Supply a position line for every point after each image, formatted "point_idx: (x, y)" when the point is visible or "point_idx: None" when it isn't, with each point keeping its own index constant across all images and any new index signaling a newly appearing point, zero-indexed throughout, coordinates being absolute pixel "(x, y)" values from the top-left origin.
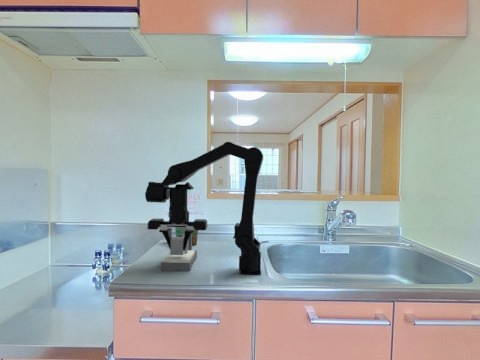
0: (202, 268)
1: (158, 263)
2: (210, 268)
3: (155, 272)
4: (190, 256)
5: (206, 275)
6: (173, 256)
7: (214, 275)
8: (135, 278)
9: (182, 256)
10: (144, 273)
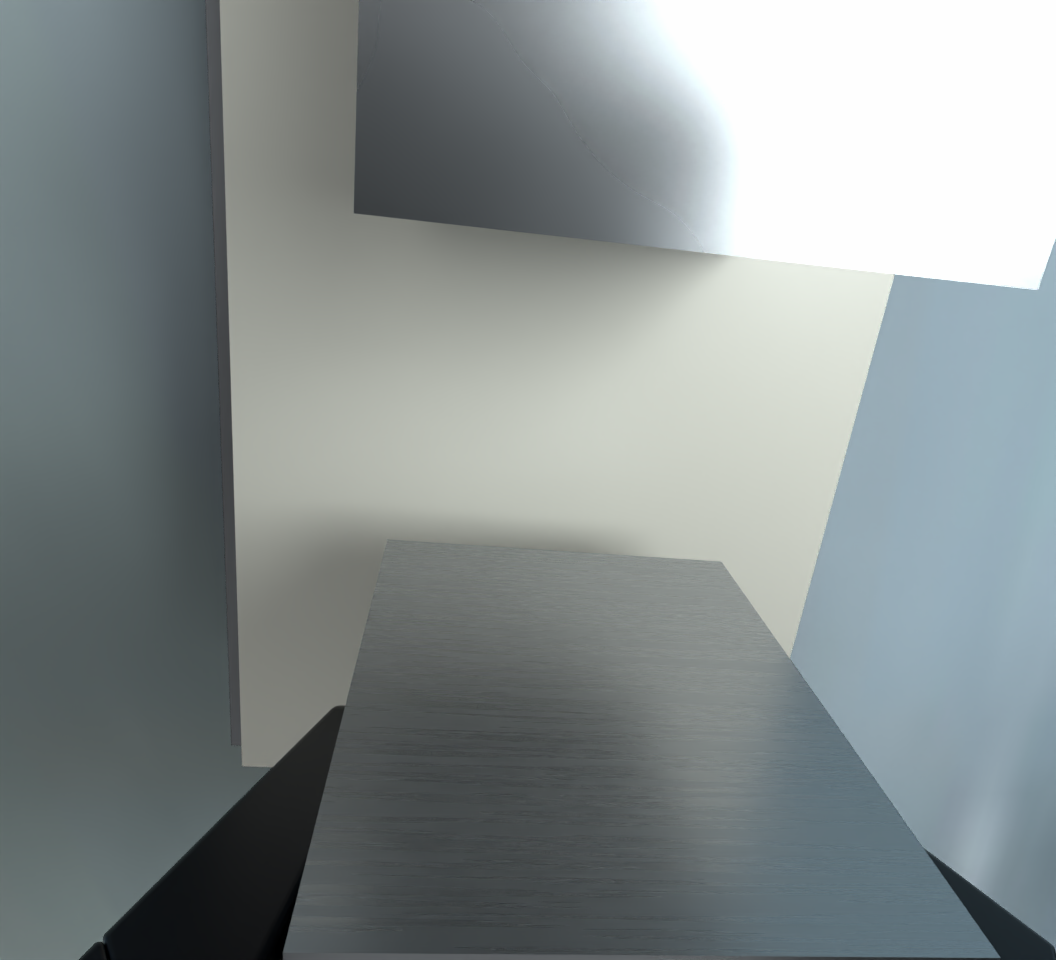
0: (920, 563)
1: (69, 228)
2: (1042, 563)
3: (202, 744)
4: (814, 524)
5: (915, 835)
6: (415, 517)
7: (1012, 833)
8: (15, 952)
9: (630, 518)
10: (48, 786)
